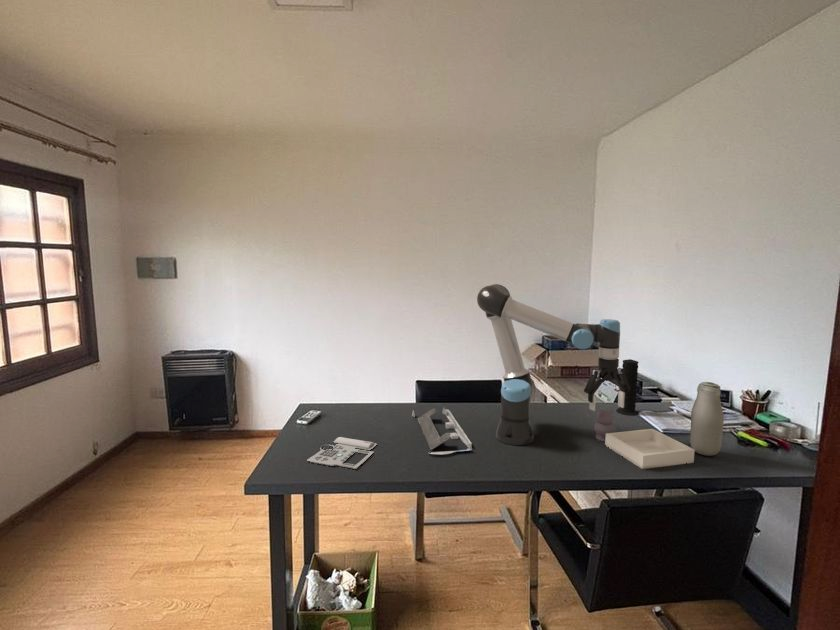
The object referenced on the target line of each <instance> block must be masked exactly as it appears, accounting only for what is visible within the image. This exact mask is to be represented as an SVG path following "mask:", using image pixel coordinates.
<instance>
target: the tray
mask: <svg viewBox="0 0 840 630" xmlns="http://www.w3.org/2000/svg"><path fill="white" fill-rule="evenodd" d="M604 445H606V446H605V447H607V448H608V447H609V450H611V449H612V450H611V451H613V452H615V453H616V454H618V455H619V456H621V457H622V456H623V459H626V460H627V461H629V462H630V463H632V464H634V465H635V466H637V467H638V468H640V469H641V470H646V469H647V470H648V469H655V468H662V467H663V468H664V467H671V466H677V465H685V464H686V463H687V464H693V463H694V462H695V453H696V452H695V449H693V448H692V447H691V446H688V445H687V444H684V443H682V442H680V441H678V440H676V439H674V438H672V437H670V436H669V435H666V434H664V433H662V432H660V431H658V430H656V429H654V428H647V429H646V428H645V429H638V430H628V431H627V430H626V431H625V430H624V431H617V432H616V431H615V432H614V433H606V437H605V442H604ZM687 464H686V465H687Z"/></svg>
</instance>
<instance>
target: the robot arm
mask: <svg viewBox="0 0 840 630" xmlns="http://www.w3.org/2000/svg"><path fill="white" fill-rule="evenodd" d="M476 301H477V305H478V307H479V309H481V310H482V311H483V312H484V313H485V316H486V318H487V319H488V320H489V321H491V324H492V325H491V326H492V328H493V332H494V336H495V339H496V343H497V347H498V349H499V354H500V358H501V361H502V365H503V368H504V371H505V372H504V374H503V375H502V376H503V377H502V378H503V381H504V382H503V383H502V384H501V389H500V394H501V396H500V420H499V423H498V425H497V427H496V432H495V438H496V439H497V440H498V441H499V442H501V443H504V444H508V445H513V446H524V445H529V444H531V443H532V442H533V441H534V432H533V428H532V425H531V422H530V414H531V413H530V412H531V408H530V407H531V402H532V400H533V398H534V396H535V394H536V384H535V382H534V379H533V378H532V376H531V373H530V370H529V369H527V368H525V364H524V361H523V357H522V353H521V350H520V346H519V343H518V339H517V336H516V332H515V328H514V324H513V321H515V322H517V323H519V324H523V325H524V326H527V327H530V328H533V329H535V330H536V331H540V332H542V333H544V334H547V335H549V336H552V337H554V338H557V339H559V340H561V341H564V342H567V343H568V344H570V345H571V344H572V345H573V346H574V347H575V348H577V349H579V350H587V349H588V348H591V346H592V344H593V343H598V356H599V357H598V363H597V364H598V370H595V369H592V370H591V374H590V377H589V378H588V381H587V383H586V385H585V387H584V390H583V392H584V393H585V394H587V395H588V396H587V401H588V402H589V403H588V404H589V405H588V406H589V407H588V408H589V410H590V411H592V412H595V411H596V392H597V391H598V389H599V388H600V386H601V385H602V384H603V383H605V382H608V381H613V382H614V384H615V385H616V386H617V388H619V390H618V397H617V407H618V408H620V407H621V408H624V399H625V398H626V393H627V392H628V390H630V389H631V388H630V385H629V383H628V381H627V378H626V376H625V370H624V369H622V368H623V367H619V366H620V365H619V363H620V359H619V358H620V342H621V341H620V339H621V322H620V321H619V320H617V319H612V318H611V319H607V318H606V319H600V321H599V323H598V324H593V323H590V324H589V323H574V322H571V321H567V320H565V319H563V318H560V317H559V316H555V315H553V314H550V313H547V312H545V311H543V310H540V309H537V308H535V307H533V306H530V305H527V304H524V303H522V302H520V301H516V300H515V299H514V298H513V297H512V295H511V293H510V291H509V289H508V288H507V287H505V286H504V285H502V284H499V283H498V284H497V283H493V284H491V285H485V286H484V287H483V288H481V289H480V290H479V292H478V293H477V296H476Z"/></svg>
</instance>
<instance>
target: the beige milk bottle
mask: <svg viewBox="0 0 840 630" xmlns="http://www.w3.org/2000/svg"><path fill="white" fill-rule="evenodd" d="M721 392H722V391H721V386H720V385H719V384H718V383H714V382H713V381H712V382H709V381H703V382H700V383H699V384H698V385H697V389H696V398H695V400H694V403H693V406H692V408H691V412H690V432H689V443H690V447H691V448H693V449H695V452H694V453H697V454H699V455H702V456H705V457H707V456H709V457H711V456H716V455H717V454H718V453H719V452H720V451H721V447H722V441H723V440H722V439H723V430H724V421H725V420H724V419H725V416H724V411H723V408H722V404H721V403H722V400H721V394H722V393H721Z"/></svg>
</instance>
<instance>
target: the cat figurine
mask: <svg viewBox="0 0 840 630" xmlns="http://www.w3.org/2000/svg"><path fill="white" fill-rule="evenodd" d="M613 413H614V410H610V411H609V410H605V409H604V410H599V411H597V413H596V415H595V418H596V419H595V420H596V421H595V423H594V426H593V429H594V431H595V432H596V433H595V439H596V438H597V439H598V440H597V439H596V440H597V441H600V440H601V441H600V442H603V441H605V437H606V433H615V432H616V425H615V424H614V423H613V422H614V420H615V417H614V415H613Z"/></svg>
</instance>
